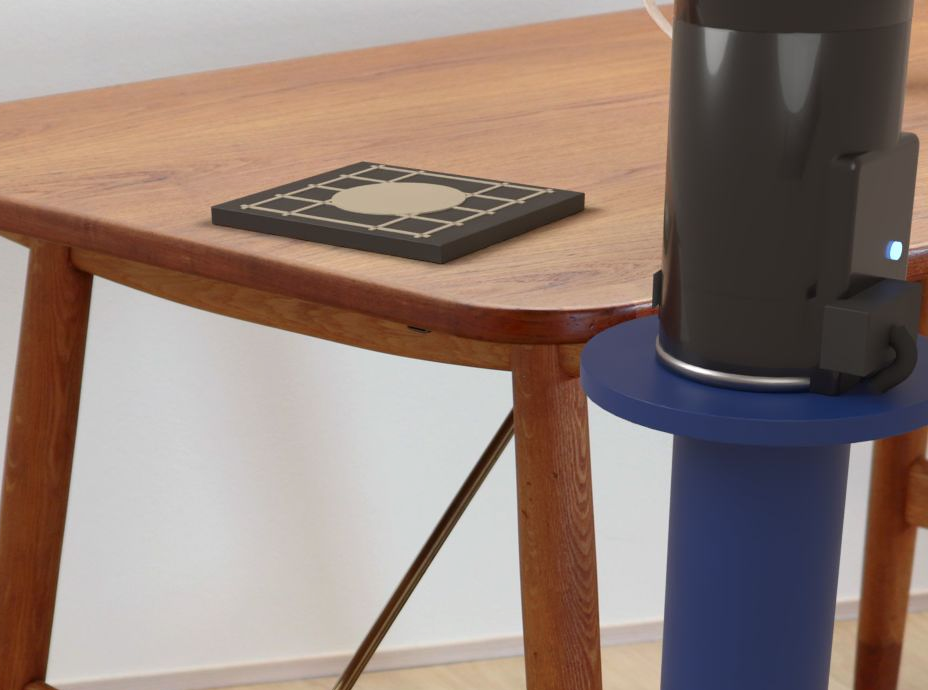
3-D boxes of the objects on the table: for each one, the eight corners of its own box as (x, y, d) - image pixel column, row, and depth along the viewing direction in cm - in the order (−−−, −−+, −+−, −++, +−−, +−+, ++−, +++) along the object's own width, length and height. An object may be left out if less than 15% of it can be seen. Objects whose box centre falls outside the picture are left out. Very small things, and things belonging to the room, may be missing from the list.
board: (584, 210, 110) (585, 190, 109) (441, 264, 100) (441, 243, 99) (362, 177, 119) (362, 159, 118) (211, 223, 109) (210, 204, 108)
